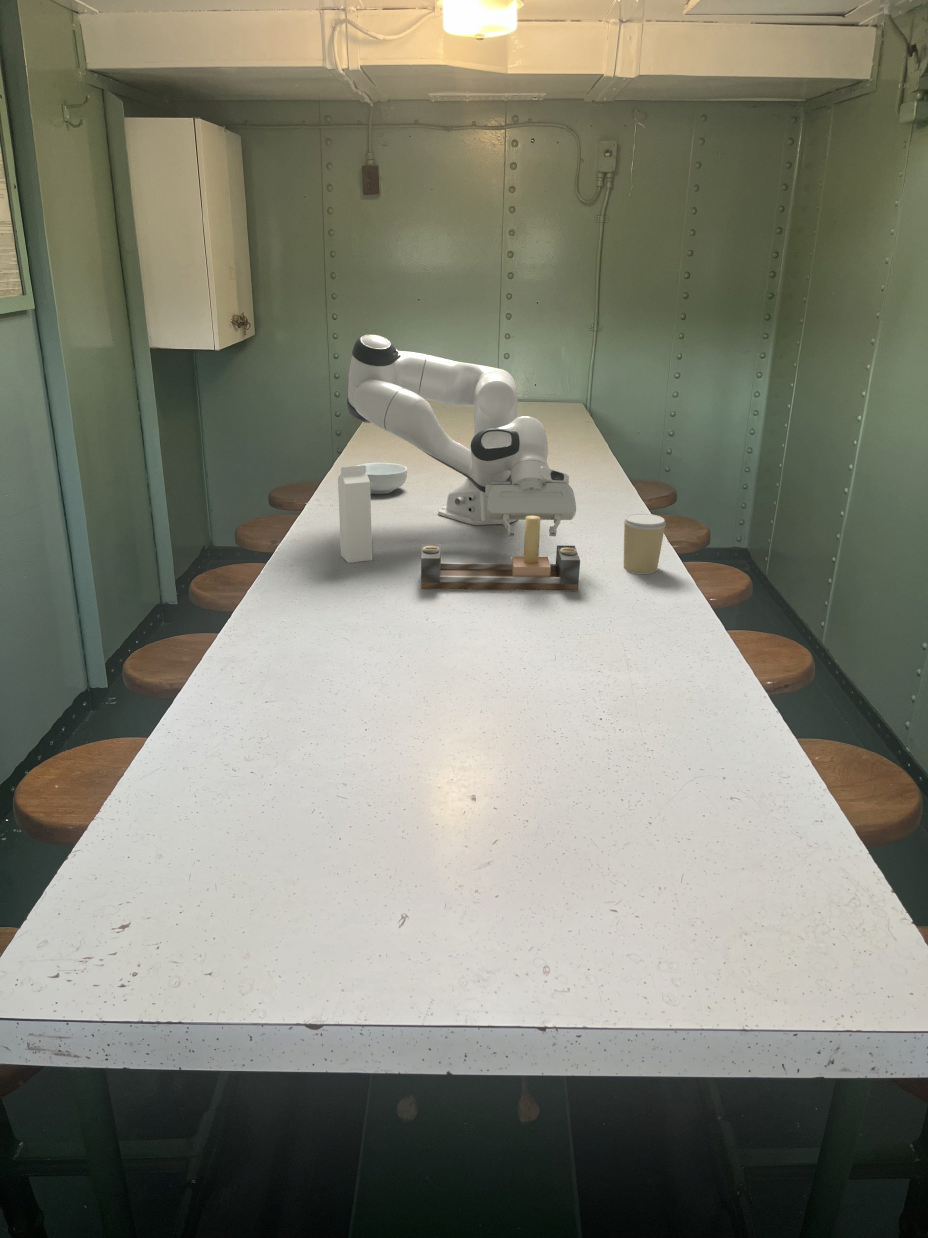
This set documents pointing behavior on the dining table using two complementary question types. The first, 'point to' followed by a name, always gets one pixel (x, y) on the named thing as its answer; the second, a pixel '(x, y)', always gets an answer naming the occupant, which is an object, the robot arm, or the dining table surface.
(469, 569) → the rail track
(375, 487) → the cereal bowl
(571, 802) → the dining table surface
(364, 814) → the dining table surface
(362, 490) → the milk
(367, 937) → the dining table surface
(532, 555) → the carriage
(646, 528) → the coffee cup
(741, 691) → the dining table surface
